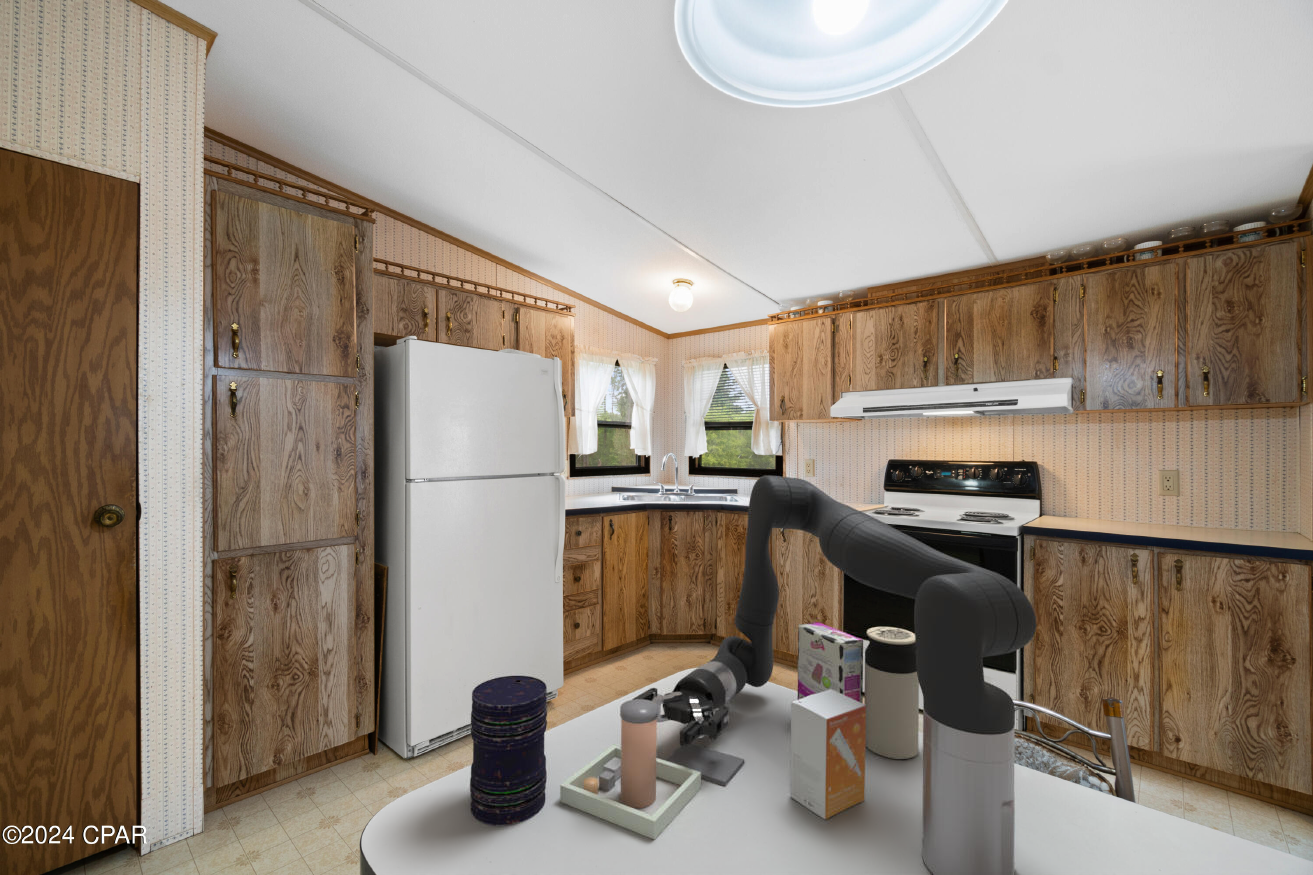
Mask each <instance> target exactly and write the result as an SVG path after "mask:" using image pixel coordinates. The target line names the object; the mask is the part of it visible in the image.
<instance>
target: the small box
mask: <svg viewBox="0 0 1313 875" xmlns="http://www.w3.org/2000/svg"><path fill="white" fill-rule="evenodd" d="M790 704H791V706H790V707H791V708H790V710H791V712H790V713H791V715H790V716H791V718H790V771H789V772H790V775H789V776H790V777H789V778H790V782H789V783H790V784H789V786H790V787H789V796H790V798H792V799H793V800H794V801H796V802H798V803H799V804H801V805H802V806H804V807H805V808H807V809H808V810H810V811H811V812H813V813H814V814H816V815H817V816H819V817H821V819H823V820H828V819H829V818H831V817H833V816H835V815H837V814H839V813H840V812H843V811H845V810H847V809H849V808H851V807H853V806H855V805H857V804H859V803H862V802H864V801H865V797H866V796H865V795H866V794H865V792H866V791H865V781H866V745H865V731H866V705H865V703H863V704H862V703H860V702H858V701H856V700H854V699H851V698H849V697H847V696H845V695H843V694H841V693H838V692H836V691H834V690H832V689H830V690H827V691H824V692H820V693H817V694H812V695H809V696H807V697H805V698H802V699H799V700H797V699H796V700H793V701H791V702H790Z"/></svg>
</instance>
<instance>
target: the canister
mask: <svg viewBox="0 0 1313 875" xmlns="http://www.w3.org/2000/svg"><path fill="white" fill-rule="evenodd" d="M619 707H620V711H619V712H620V713H619V715H620V721H621V722H620V723H621V724H620V725H621V728H620V746H621V777H620V797H619V798H620V800H621V804H623V805H626V806H628V807H631V808H634V809H643V808H647V807H649V806H651V805H653V804H655V801H656V799H657V777H656V758H657V752H658V751H657V748H658V747H657V746H658V745H657V741H658V740H657V737H658V736H657V735H658V734H657V732H658V726H657V725H658V722H657V717H658V706H657V704H656V703H654V702H652V701H649V700H644V699H635V700H632V699H631V700H627V701H625V702H623V703H621V705H620V706H619Z"/></svg>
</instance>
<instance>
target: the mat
mask: <svg viewBox="0 0 1313 875" xmlns="http://www.w3.org/2000/svg"><path fill="white" fill-rule="evenodd" d="M665 761H668V762H671V763H674V764H677V765H680V766H683V767H686V768H689V769H693V770H696V771H699V772H701V780H706V781H708V782H711V783H715V784H716V785H717V784H718V785H720V786H723V787H727V785H728V784H729V783H730V781H731V780H732V779H733V777H735V775H736V774H737V773H738V772H739V771H740V769H741V768H742V767H743V766H744V764H745V758H741V757H738V756H734V755H731V754H729V753H724V752H722V751H719V750H715V749H710V748H708V747H704V746H701V745H699V744H698V745H697V744H694V743H692V744H688V745H687V746H686V747H683V746H680V745H679V747H678V748H676V750H675V751H673V752H671V754H670V755H669V756H668V757H667V758H666V759H665Z"/></svg>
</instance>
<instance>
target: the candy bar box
mask: <svg viewBox="0 0 1313 875" xmlns="http://www.w3.org/2000/svg"><path fill="white" fill-rule="evenodd" d="M797 626H798V630H797V632H798V633H797V634H798V635H797V639H798V641H797V699H796V700H799V699H802V698H805V697H807V696H809V695H812V694H817V693H820V692H824V691H827V690H830V689H832V690H834V691H836V692H838V693H841V694H843V695H845V696H847V697H849V698H851V699H854V700H856V701H858V702H860V703H862V704H864V703H863V698H864V696H863V694H864V693H863V692H864V691H863V689H864V688H863V686H864V685H863V684H864V640H863V639H862V638H858V637H856V636H854V635H852V634H849V633H846V632H844V631H841V630H839V629H837V628H833V627H831V626H829V625H826V624H824V623H821V622H812V623H811V622H810V623H805V624H798V625H797Z"/></svg>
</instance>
